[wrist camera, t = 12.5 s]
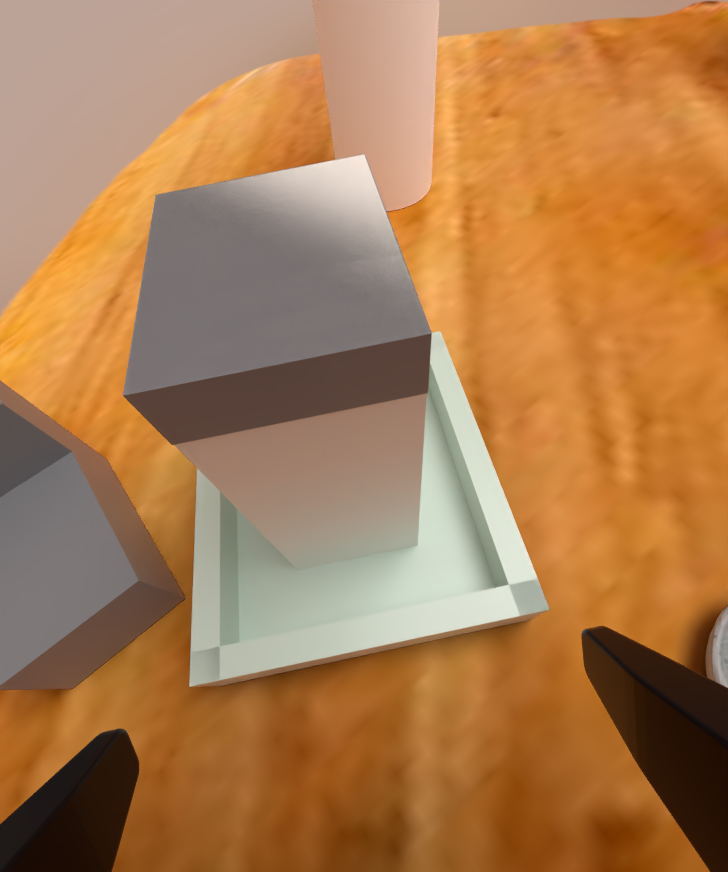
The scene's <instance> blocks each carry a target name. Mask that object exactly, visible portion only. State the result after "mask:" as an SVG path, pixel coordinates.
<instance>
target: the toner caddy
mask: <svg viewBox="0 0 728 872" xmlns="http://www.w3.org/2000/svg"><path fill="white" fill-rule="evenodd" d="M431 338H432V333H431V330H430V327H429V324H428V322H427V319H426V316H425V314H424V311H423V308H422V306H421V303H420V300H419V298H418V295H417V292H416V290H415V287H414V284H413V282H412V279H411V276H410V273H409V271H408V268H407V265H406V263H405V260H404V257H403V255H402V252H401V249H400V247H399V244H398V241H397V239H396V236H395V233H394V230H393V228H392V225H391V222H390V220H389V217H388V214H387V212H386V209H385V206H384V204H383V201H382V198H381V196H380V193H379V190H378V188H377V185H376V182H375V179H374V177H373V174H372V171H371V169H370V166H369V163H368V161H367V158H366V155H365V154H362V155H356V156H351V157H346V158H341V159H336V160H331V161H326V162H321V163H316V164H310V165H305V166H300V167H295V168H290V169H285V170H280V171H275V172H270V173H265V174H259V175H254V176H249V177H244V178H239V179H234V180H229V181H224V182H219V183H214V184H208V185H203V186H198V187H193V188H188V189H183V190H178V191H173V192H168V193H162V194H157V195H156V196H155V202H154V208H153V214H152V220H151V226H150V233H149V239H148V245H147V251H146V257H145V263H144V269H143V275H142V282H141V288H140V294H139V300H138V306H137V312H136V318H135V324H134V331H133V337H132V343H131V349H130V355H129V361H128V367H127V373H126V380H125V386H124V392H123V396H124V397H125V398H126V399H127V400H128V401H129V402H130V403H131V404H132V405H133V406H134V407H135V408H136V409H137V410H138V411H139V412H140V413H141V414H142V415H143V416H144V417H145V418H146V419H147V420H148V421H149V422H150V423H151V424H152V425H153V426H154V427H155V428H156V429H157V430H158V431H159V432H160V433H161V434H162V435H163V436H164V437H165V438H166V439H167V440H168V441H169V442H170V443H171V444H172V445H175V446H176V447H177V448H178V449H179V450H180V451H181V452H182V453H183V454H184V455H185V456H186V457H187V458H188V459H189V460H190V461H191V462H192V463H193V464H194V465H195V466H196V467H197V468H198V470H199V471H200V472H201V473H202V474H203V475H204V476H205V477H206V478H207V479H208V480H209V481H210V482H211V483H212V484H213V485H214V486H215V487H216V488H217V489H218V490H219V491H220V492H221V493H222V494H223V495H224V496H225V497H226V498H227V499H228V500H229V501H230V502H231V503H232V504H233V505H234V506H235V507H236V508H237V509H238V510H239V511H240V512H241V513H242V514H243V515H244V516H245V517H246V518H247V519H248V520H249V521H250V522H251V523H252V524H253V525H254V526H255V527H256V528H257V529H258V530H259V531H260V532H261V533H262V534H263V535H264V536H265V537H266V538H267V539H268V540H269V541H270V542H271V543H272V544H273V545H274V546H275V547H276V548H277V549H278V550H279V551H280V552H281V554H282V555H283V556H284V557H285V558H286V559H287V560H288V561H289V562H290V563H291V564H292V565H293V566H294V567H295V568H296V569H297V570H301V569H306V568H311V567H315V566H320V565H325V564H330V563H335V562H340V561H344V560H349V559H354V558H359V557H364V556H368V555H373V554H378V553H383V552H388V551H392V550H397V549H402V548H407V547H412V546H417V545H418V531H419V514H420V497H421V480H422V463H423V446H424V430H425V413H426V396H427V393H428V385H429V369H430V354H431Z"/></svg>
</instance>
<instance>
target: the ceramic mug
mask: <svg viewBox="0 0 728 872" xmlns="http://www.w3.org/2000/svg"><path fill="white" fill-rule="evenodd" d="M705 663H706V674H707V678H709V679H711V680H713V681H715V682H717V683H719V684H721V685H723V686H725V687H727V688H728V606H727V607H726V608H725V609H724V610H722V612H721V613H720V615H719V617H718V618H717V620H716V622H715V625H714V627H713V629H712V631H711V633H710V636H709V640H708V644H707V649H706V655H705Z"/></svg>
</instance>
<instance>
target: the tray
mask: <svg viewBox="0 0 728 872" xmlns="http://www.w3.org/2000/svg"><path fill="white" fill-rule="evenodd" d="M548 610H550V609H549V606H548V604H547V601H546V599H545V596H544V594H543V591H542V589H541V586H540V584H539V581H538V578H537V576H536V573H535V571H534V568H533V566H532V563H531V561H530V558H529V556H528V553H527V550H526V548H525V545H524V543H523V540H522V538H521V535H520V533H519V530H518V528H517V525H516V523H515V520H514V517H513V515H512V512H511V510H510V507H509V505H508V502H507V500H506V497H505V495H504V492H503V489H502V487H501V484H500V482H499V479H498V477H497V474H496V472H495V469H494V467H493V464H492V461H491V459H490V456H489V454H488V451H487V449H486V446H485V444H484V441H483V439H482V436H481V434H480V431H479V428H478V426H477V423H476V421H475V418H474V416H473V413H472V411H471V408H470V406H469V403H468V400H467V398H466V395H465V393H464V390H463V388H462V385H461V383H460V380H459V378H458V375H457V372H456V370H455V367H454V365H453V362H452V360H451V357H450V355H449V352H448V350H447V347H446V345H445V342H444V339H443V337H442V334H441V332H440V331H439V332H434V333H432V338H431V354H430V369H429V385H428V393H427V396H426V413H425V430H424V446H423V463H422V480H421V497H420V514H419V531H418V545H417V546H412V547H407V548H402V549H397V550H392V551H388V552H383V553H378V554H373V555H368V556H364V557H359V558H354V559H349V560H344V561H340V562H335V563H330V564H325V565H320V566H315V567H311V568H306V569H301V570H297V569H296V568H295V567H294V566H293V565H292V564H291V563H290V562H289V561H288V560H287V559H286V558H285V557H284V556H283V555H282V554H281V552H280V551H279V550H278V549H277V548H276V547H275V546H274V545H273V544H272V543H271V542H270V541H269V540H268V539H267V538H266V537H265V536H264V535H263V534H262V533H261V532H260V531H259V530H258V529H257V528H256V527H255V526H254V525H253V524H252V523H251V522H250V521H249V520H248V519H247V518H246V517H245V516H244V515H243V514H242V513H241V512H240V511H239V510H238V509H237V508H236V507H235V506H234V505H233V504H232V503H231V502H230V501H229V500H228V499H227V498H226V497H225V496H224V495H223V494H222V493H221V492H220V491H219V490H218V489H217V488H216V487H215V486H214V485H213V484H212V483H211V482H210V481H209V480H208V479H207V478H206V477H205V476H204V475H203V474H202V473H201V472H200V471H199V470H198V468H197V486H196V514H195V542H194V570H193V598H192V625H191V653H190V681H189V687H204V686H223V685H228V684H232V683H237V682H242V681H246V680H251V679H256V678H260V677H265V676H270V675H274V674H279V673H284V672H288V671H293V670H298V669H302V668H307V667H312V666H317V665H321V664H326V663H331V662H335V661H340V660H345V659H349V658H354V657H359V656H363V655H368V654H373V653H377V652H382V651H387V650H391V649H396V648H401V647H405V646H410V645H415V644H419V643H424V642H429V641H433V640H438V639H443V638H447V637H452V636H457V635H461V634H466V633H471V632H475V631H480V630H485V629H489V628H494V627H499V626H503V625H508V624H513V623H517V622H522V621H527V620H531V619H533V618H535V617H537V616H539V615H541V614H542V613H544V612H546V611H548Z"/></svg>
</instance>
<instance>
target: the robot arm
mask: <svg viewBox="0 0 728 872" xmlns="http://www.w3.org/2000/svg"><path fill="white" fill-rule="evenodd" d="M582 649H583V660H584V667H585V671H586V673H587V676H588V678H589V680H590V681H591V683H592V685H593V687H594V689H595V690H596V692H597V694H598V696H599V697H600V699H601V701H602V703H603V705H604V706H605V708H606V710H607V712H608V713H609V715H610V717H611V719H612V720H613V722H614V724H615V726H616V728H617V729H618V731H619V733H620V735H621V736H622V738H623V740H624V742H625V744H626V745H627V747H628V749H629V751H630V752H631V754H632V756H633V757H634V759H635V761H636V762H637V764H638V766H639V767H640V769H641V770H642V772H643V773H644V775H645V776H646V778H647V780H648V781H649V782H650V784H651V785H652V787H653V788H654V790H655V791H656V793H657V794H658V796H659V797H660V799H661V800H662V802H663V803H664V804H665V806H666V807H667V809H668V810H669V812H670V813H671V815H672V816H673V818H674V819H675V821H676V822H677V824H678V825H679V826H680V828H681V829H682V831H683V832H684V834H685V835H686V837H687V838H688V840H689V841H690V843H691V844H692V846H693V847H694V848H695V850H696V851H697V853H698V854H699V856H700V857H701V859H702V860H703V862H704V863H705V865H706V866H707V867H708V869H709V870H710V872H728V688H727V687H725V686H723V685H721V684H719V683H717V682H715V681H713V680H711V679H709V678H707V677H705V676H703V675H701V674H699V673H697V672H695V671H693V670H691V669H689V668H687V667H685V666H683V665H682V664H680V663H678V662H676V661H674V660H672V659H670V658H668V657H666V656H664V655H662V654H660V653H658V652H656V651H654V650H652V649H650V648H648V647H646V646H644V645H642V644H640V643H638V642H636V641H634V640H632V639H630V638H628V637H626V636H624V635H622V634H620V633H618V632H616V631H614V630H612V629H610V628H608V627H605V626H597V627H593V628H588V629H585V630H583V631H582ZM138 774H139V760H138V757H137V755H136V752H135V750H134V747H133V745H132V743H131V740H130V738H129V735H128V733H127V731H125V730H124V729H116V730H111V731H106V732H103V733H101V734H99V735H98V736H97V737H95V738H94V739H93V740H92V741H91V742H90V743H89V744H88V745H87V746H86V747H84V748H83V749H82V750H81V751H80V752H79V753H78V754H77V755H76V756H75V757H74V758H72V759H71V760H70V761H69V762H68V763H67V764H66V765H65V766H64V767H63V768H62V769H60V770H59V771H58V772H57V773H56V774H55V775H54V776H53V777H52V778H51V779H49V780H48V781H47V782H46V783H45V784H44V785H43V786H42V787H41V788H40V789H39V790H37V791H36V792H35V793H34V794H33V795H32V796H31V797H30V798H29V799H28V800H26V801H25V802H24V803H23V804H22V805H21V806H20V807H19V808H18V809H17V810H16V811H14V812H13V813H12V814H11V815H10V816H9V817H8V818H7V819H6V820H5V821H3V822H2V823H1V824H0V872H112V869H113V865H114V862H115V858H116V855H117V851H118V848H119V844H120V840H121V837H122V833H123V829H124V826H125V822H126V819H127V815H128V811H129V808H130V804H131V800H132V797H133V793H134V790H135V786H136V782H137V779H138Z"/></svg>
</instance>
